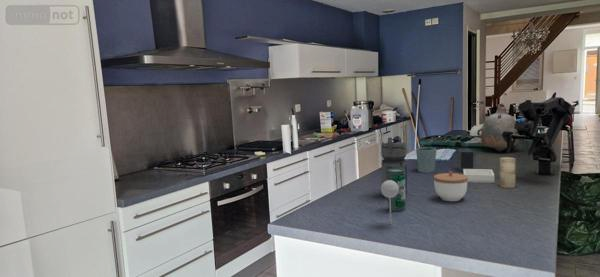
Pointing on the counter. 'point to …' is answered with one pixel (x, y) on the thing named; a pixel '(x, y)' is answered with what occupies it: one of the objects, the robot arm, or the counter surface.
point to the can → (399, 200)
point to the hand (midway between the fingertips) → (517, 153)
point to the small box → (465, 159)
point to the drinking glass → (426, 159)
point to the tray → (479, 175)
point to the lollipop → (389, 191)
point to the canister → (507, 172)
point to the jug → (497, 129)
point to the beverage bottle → (393, 157)
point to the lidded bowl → (450, 186)
